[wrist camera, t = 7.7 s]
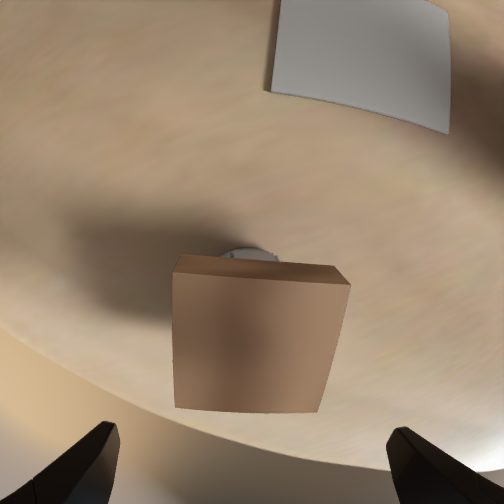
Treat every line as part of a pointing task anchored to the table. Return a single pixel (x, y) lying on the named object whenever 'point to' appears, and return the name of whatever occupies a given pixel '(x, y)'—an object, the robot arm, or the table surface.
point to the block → (254, 333)
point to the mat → (367, 57)
